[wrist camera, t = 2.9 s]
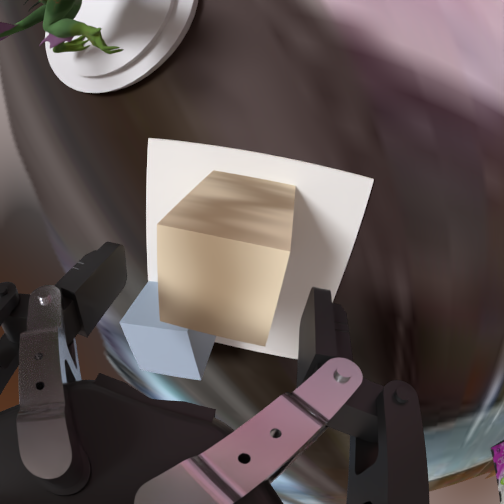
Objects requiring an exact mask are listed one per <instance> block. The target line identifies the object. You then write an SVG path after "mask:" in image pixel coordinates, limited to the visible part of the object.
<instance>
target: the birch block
mask: <svg viewBox="0 0 504 504" xmlns="http://www.w3.org/2000/svg"><path fill="white" fill-rule="evenodd" d="M294 200H295V186H294V185H290V184H285V183H280V182H275V181H270V180H265V179H260V178H254V177H249V176H244V175H238V174H232V173H227V172H221V171H215V170H213V171H212V172H211V173H210V174H209V175H208V176H207V177H205V178H204V179H203V180H202V181H201V182H200V183H199V184H198V185H197V186H196V187H195V188H194V189H193V190H191V191H190V192H189V193H188V194H187V195H186V196H185V197H184V198H183V199H182V200H181V201H180V202H179V203H178V204H177V205H176V206H175V207H174V208H173V209H172V210H171V211H170V212H169V213H168V214H167V215H166V216H165V217H164V218H163V219H162V220H161V221H160V222H159V223H158V224H157V274H158V298H159V316H160V321H161V322H165V323H169V324H172V325H176V326H179V327H183V328H187V329H191V330H195V331H199V332H203V333H207V334H211V335H215V336H219V337H223V338H227V339H232V340H236V341H241V342H245V343H250V344H255V345H259V346H264V347H265V346H266V343H267V339H268V335H269V332H270V328H271V324H272V321H273V317H274V313H275V309H276V306H277V302H278V298H279V294H280V290H281V287H282V283H283V279H284V275H285V271H286V267H287V263H288V259H289V255H290V250H291V238H292V226H293V214H294Z"/></svg>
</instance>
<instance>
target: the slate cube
mask: <svg viewBox="0 0 504 504" xmlns="http://www.w3.org/2000/svg"><path fill="white" fill-rule="evenodd" d="M120 324H121V327H122V329H123V332H124V334H125V336H126V339H127V341H128V343H129V346H130V348H131V350H132V352H133V355H134V357H135V359H136V361H137V363H138V365H139V367H140V370H144V371H149V372H154V373H159V374H164V375H170V376H176V377H182V378H188V379H195V380H201V379H202V376H203V373H204V370H205V368H206V365H207V362H208V359H209V356H210V353H211V350H212V347H213V344H214V341H215V338H216V336H215V335H211V334H207V333H203V332H199V331H195V330H191V329H187V328H183V327H179V326H176V325H172V324H169V323H165V322H161V321H160V316H159V298H158V282H154V281H149V282H148V283H147V284H146V286H145V287H144V288H143V290H142V291H141V293H140V294H139V295H138V297H137V298H136V300H135V301H134V302H133V304H132V305H131V307H130V308H129V310H128V311H127V312H126V314H125V315H124V317H123V318H122V320H121V321H120Z"/></svg>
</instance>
